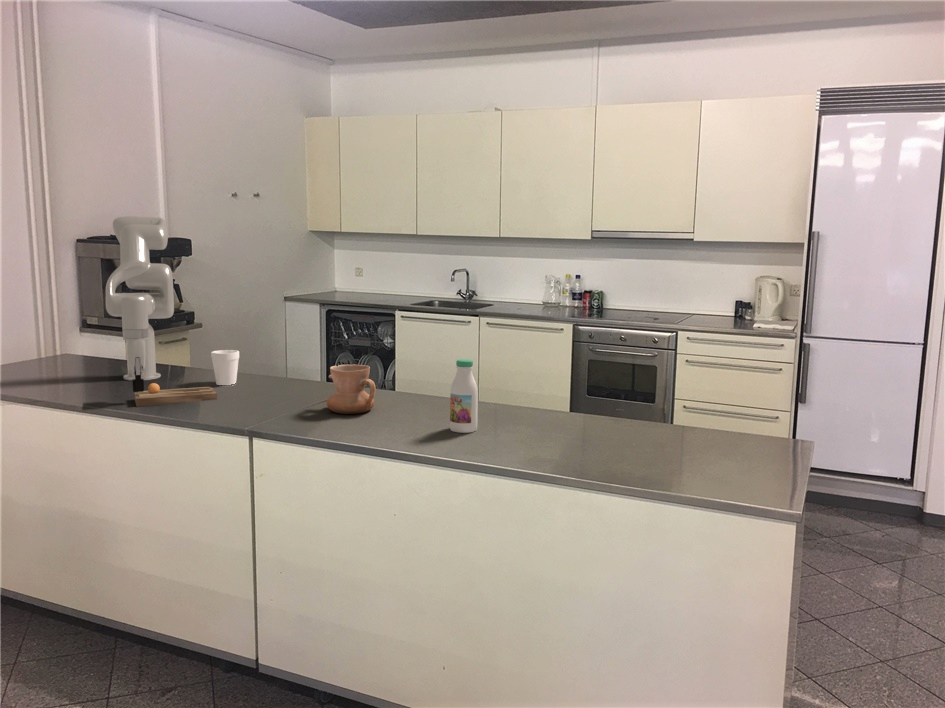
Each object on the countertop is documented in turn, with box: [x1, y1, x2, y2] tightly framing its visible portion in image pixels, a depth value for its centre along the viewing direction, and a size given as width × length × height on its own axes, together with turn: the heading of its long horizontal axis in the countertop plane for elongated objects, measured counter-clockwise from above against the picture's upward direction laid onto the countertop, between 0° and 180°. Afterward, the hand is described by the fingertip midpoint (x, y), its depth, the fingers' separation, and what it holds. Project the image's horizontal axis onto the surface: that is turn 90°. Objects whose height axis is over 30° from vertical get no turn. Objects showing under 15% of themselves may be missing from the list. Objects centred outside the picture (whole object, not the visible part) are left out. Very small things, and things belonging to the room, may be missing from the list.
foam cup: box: [210, 349, 240, 386], centre depth 260 cm, size 10×9×13 cm
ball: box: [147, 382, 161, 394], centre depth 234 cm, size 4×4×4 cm
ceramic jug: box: [326, 364, 376, 415], centre depth 223 cm, size 18×14×14 cm
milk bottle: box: [449, 358, 479, 434], centre depth 203 cm, size 8×8×20 cm
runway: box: [133, 386, 218, 408], centre depth 237 cm, size 12×24×3 cm, turn 117°
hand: (138, 391), depth 232 cm, fingers closed
